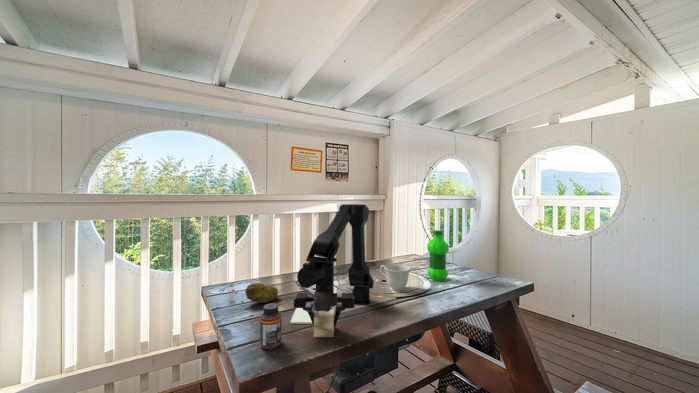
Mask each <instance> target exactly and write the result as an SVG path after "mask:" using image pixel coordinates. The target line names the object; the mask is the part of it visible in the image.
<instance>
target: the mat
mask: <svg viewBox="0 0 699 393" xmlns="http://www.w3.org/2000/svg"><path fill="white" fill-rule="evenodd" d="M315 312H316V311H315ZM289 324H291V325H297V324H298V325H299V324H300V325H313V324H312V321H311V318H310V316H309V314H308V312H307V311H305V310H303V308H295V310H294V313H293V315H292V317H291V320H290V322H289Z"/></svg>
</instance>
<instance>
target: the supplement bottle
mask: <svg viewBox="0 0 699 393" xmlns="http://www.w3.org/2000/svg"><path fill="white" fill-rule="evenodd" d="M259 319H260V320H259V328H260V329H259V330H260V331H259V332H260V334H259V335H260V336H259V337H260V338H259V339H260V340H259V342H260V346H261V348H262V349H266V350H272V349H275V348H277V347H279V346H280V345H281V343H282V312H281V311H280V310H279V305H278V304H277V303H275V302H273V303H272V302H270V303H266V304H265V305H263V311H262V313H261V314H260V318H259Z"/></svg>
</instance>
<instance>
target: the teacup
mask: <svg viewBox="0 0 699 393" xmlns="http://www.w3.org/2000/svg"><path fill="white" fill-rule="evenodd" d="M383 268H384V271H385V272H384V271H383ZM411 270H412V268H411V267H410V266H409V265H406V264H401V263H389V264H386V265H384V264H382V265H380V267H379V271H380V273H381V275H383V276H385V277H386V280H387V284H388V285H389V287H390V289H391V290H392V289H393V290H392V291H394V290H398V291H397V292H401V291H400V290H402V291H403V290H404V288H405V287H406V286H407V284H408V283H409V282H408V281H409V276H410V271H411Z"/></svg>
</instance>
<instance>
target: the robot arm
mask: <svg viewBox="0 0 699 393" xmlns="http://www.w3.org/2000/svg"><path fill="white" fill-rule="evenodd" d="M338 209H339V210H338V211H337V213H336V214H335V216H334V218H333V219H332V221H331V222H330V224H329V225H328V227H327V229H326V230H325V231H323V232H321V233H319V235H318V236H316V238H315V239H314V240H313V242H312V244H311V246H310V250H309V252H308V253H307V258H306V260H305V261H306V262H305V263H302V267H301V268H300V269H299V270H298V272H297V275H296V278H297V282H298V285H300V287H302V288H304V289H308V288H310V287H313V286H315V291H314V293H313V296H310V294H309V292H298V293H296V295H295V296H294V299H293V308H294V309H296V308H303V310H305V311H307V312H308V314H309V316H310V318H311V321H312V324H311V325H312V327H313V328H314V315H315V311H326V312H328V311H330V310H331V309H332V307H335V309H334V329H335V328H336V326H337V322H338V320H339V316H340V315H341V312H343V311H346V309H354V308H355V305H371V301H370V291H371V290H370V289H373V288H374V285H375V283H374V282H375V280H374V278H373V277H372V275H371V271H370V267H369V266H368V264H367V262H366V245H365V244H366V243H365V225H366V223H367V222H368V220H369V214H370V209H369V207H368V206H367V205H366V204H365V203H364V204H357V203H351V204H350V203H349V204H348V203H343V204H341V205H340V206H339V208H338ZM348 223H349V225H350V226H351V236H352V237H351V240H352V242H351V244H352V246H351V247H352V264H351V265H350V267H349V268H348V275H347V276H348V283H349V286H350V287H353V288H351V289H352V290H351V291H352V292H342V293H341V296H338V293H337V292H334V288H335V286H334V285H335V283H334V278H335V275H334V274H335V273H334V272H335V266H334V265H335V263H336V262H337V261H338V259H337V258H336V257H335V256H336V255H337V253H338V250H339V248H340V237H341V236H342V233H343V232H344V230H345V229H346V227H347V226H348Z"/></svg>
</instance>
